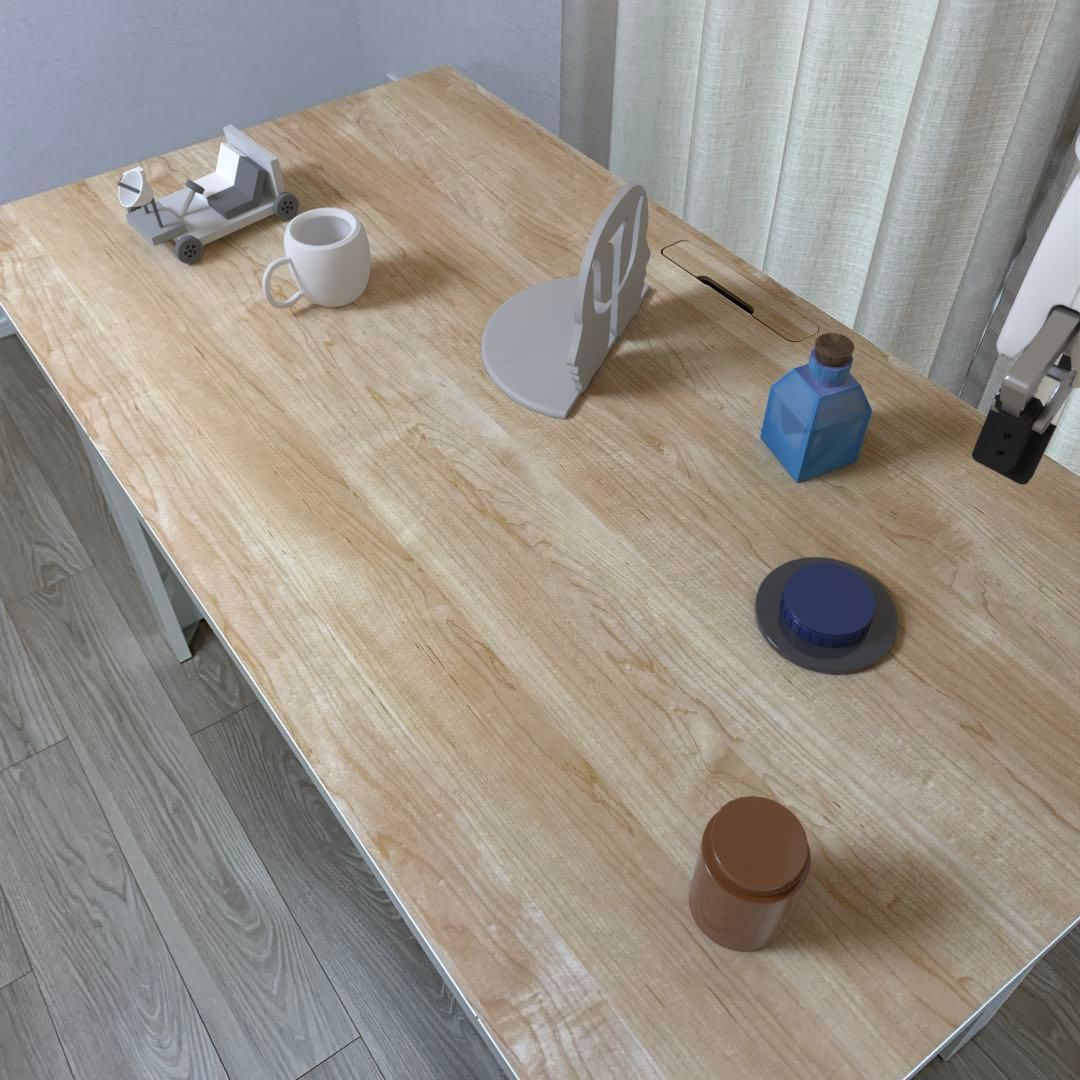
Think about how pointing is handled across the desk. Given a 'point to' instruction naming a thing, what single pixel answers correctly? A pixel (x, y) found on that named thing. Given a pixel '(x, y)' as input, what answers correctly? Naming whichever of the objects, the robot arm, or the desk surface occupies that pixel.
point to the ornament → (572, 314)
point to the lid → (828, 605)
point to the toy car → (210, 199)
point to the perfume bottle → (817, 412)
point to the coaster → (811, 654)
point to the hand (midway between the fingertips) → (1043, 424)
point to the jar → (749, 873)
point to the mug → (324, 258)
